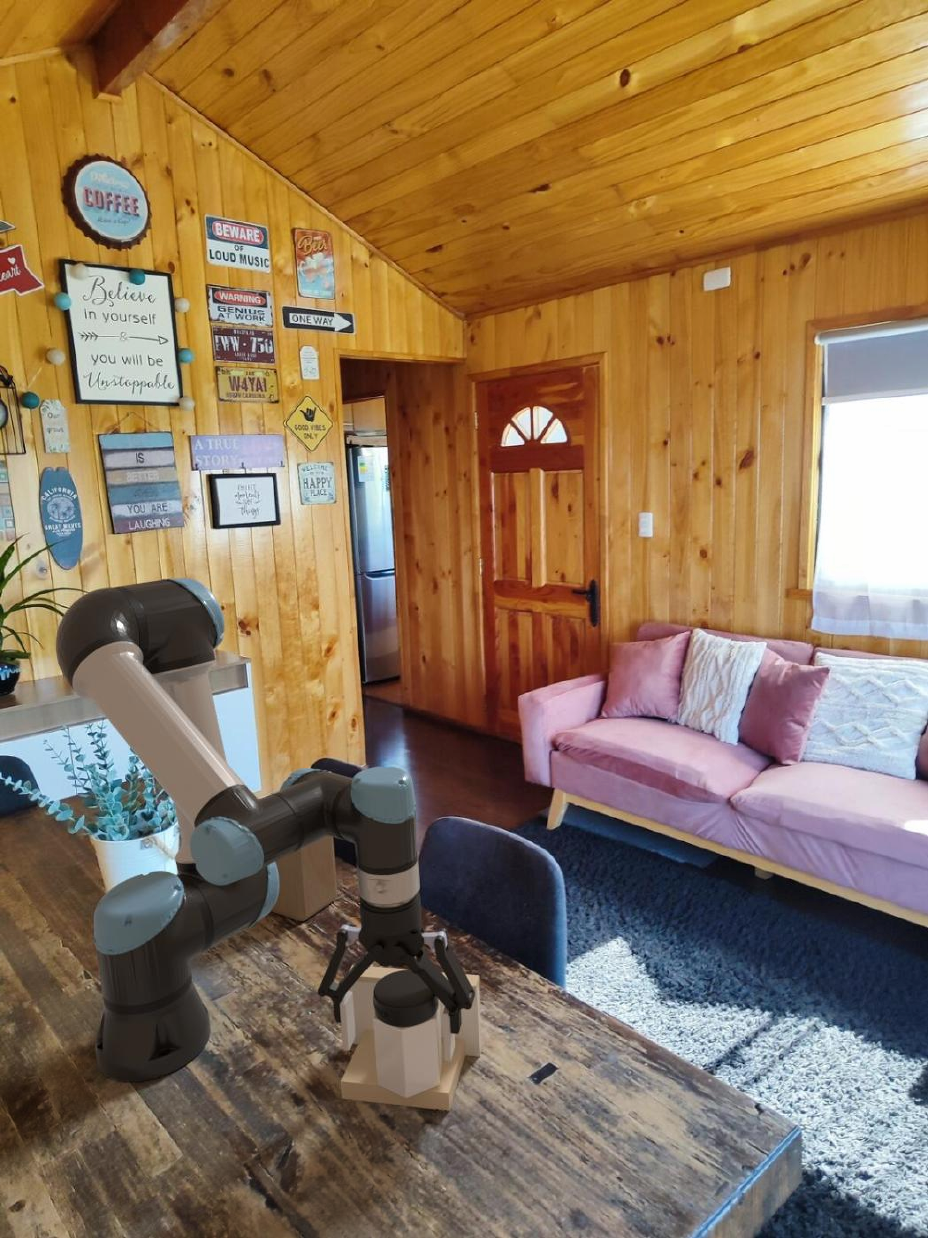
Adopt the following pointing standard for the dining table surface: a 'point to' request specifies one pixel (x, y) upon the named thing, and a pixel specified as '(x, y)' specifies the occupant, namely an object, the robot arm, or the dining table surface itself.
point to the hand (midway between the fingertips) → (399, 1048)
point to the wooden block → (306, 880)
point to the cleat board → (362, 1066)
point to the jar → (406, 1034)
